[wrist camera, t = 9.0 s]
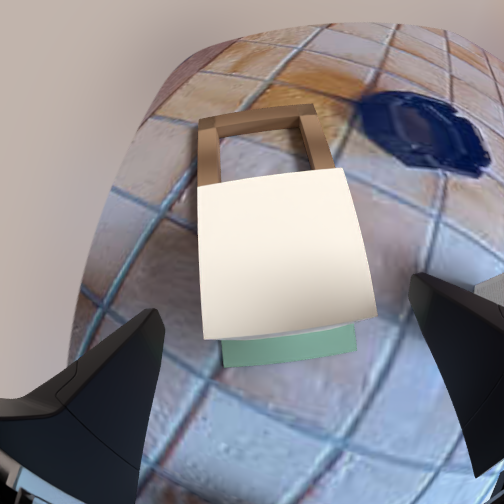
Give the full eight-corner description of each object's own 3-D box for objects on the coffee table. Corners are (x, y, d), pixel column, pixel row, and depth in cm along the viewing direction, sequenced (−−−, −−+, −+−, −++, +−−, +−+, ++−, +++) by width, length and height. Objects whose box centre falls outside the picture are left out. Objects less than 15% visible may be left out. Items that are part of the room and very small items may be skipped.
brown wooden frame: (345, 225, 20) (349, 217, 18) (204, 244, 20) (198, 237, 19) (312, 114, 24) (312, 103, 22) (202, 129, 24) (198, 119, 23)
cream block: (328, 329, 17) (377, 316, 8) (246, 340, 18) (203, 339, 8) (316, 251, 19) (342, 167, 10) (239, 261, 19) (197, 186, 10)
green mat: (355, 350, 17) (357, 350, 16) (224, 367, 17) (223, 367, 17) (335, 227, 20) (335, 226, 19) (215, 243, 20) (214, 242, 20)
